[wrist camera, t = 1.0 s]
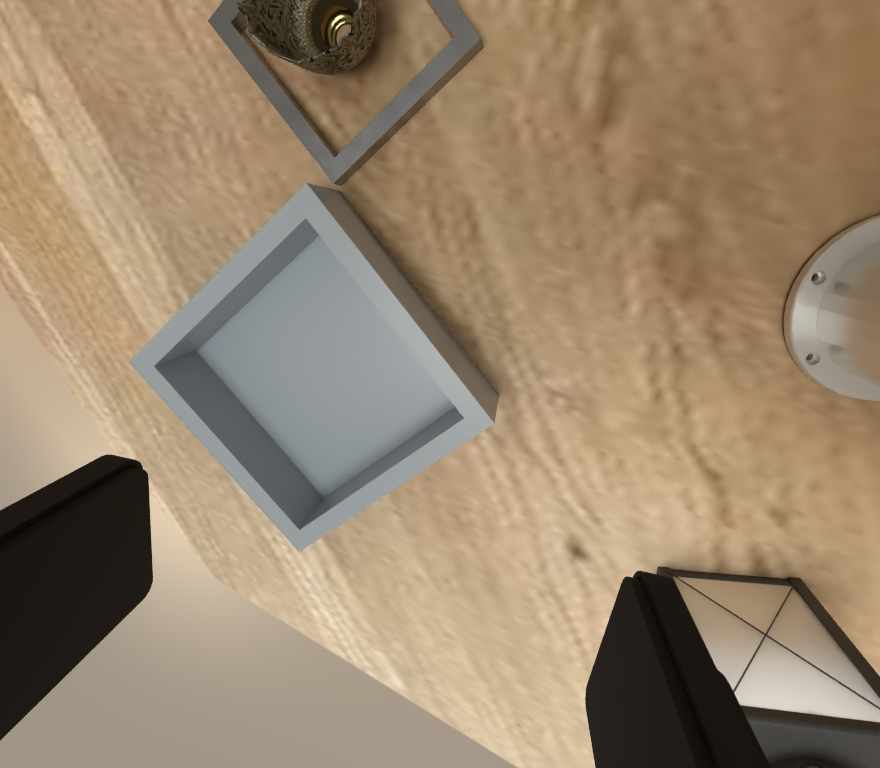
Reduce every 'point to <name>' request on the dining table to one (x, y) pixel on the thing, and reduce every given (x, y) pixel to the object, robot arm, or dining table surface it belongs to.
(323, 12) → the dark bronze rounded piece
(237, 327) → the bin
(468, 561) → the dining table surface
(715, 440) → the dining table surface
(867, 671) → the lantern
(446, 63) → the square metal frame
